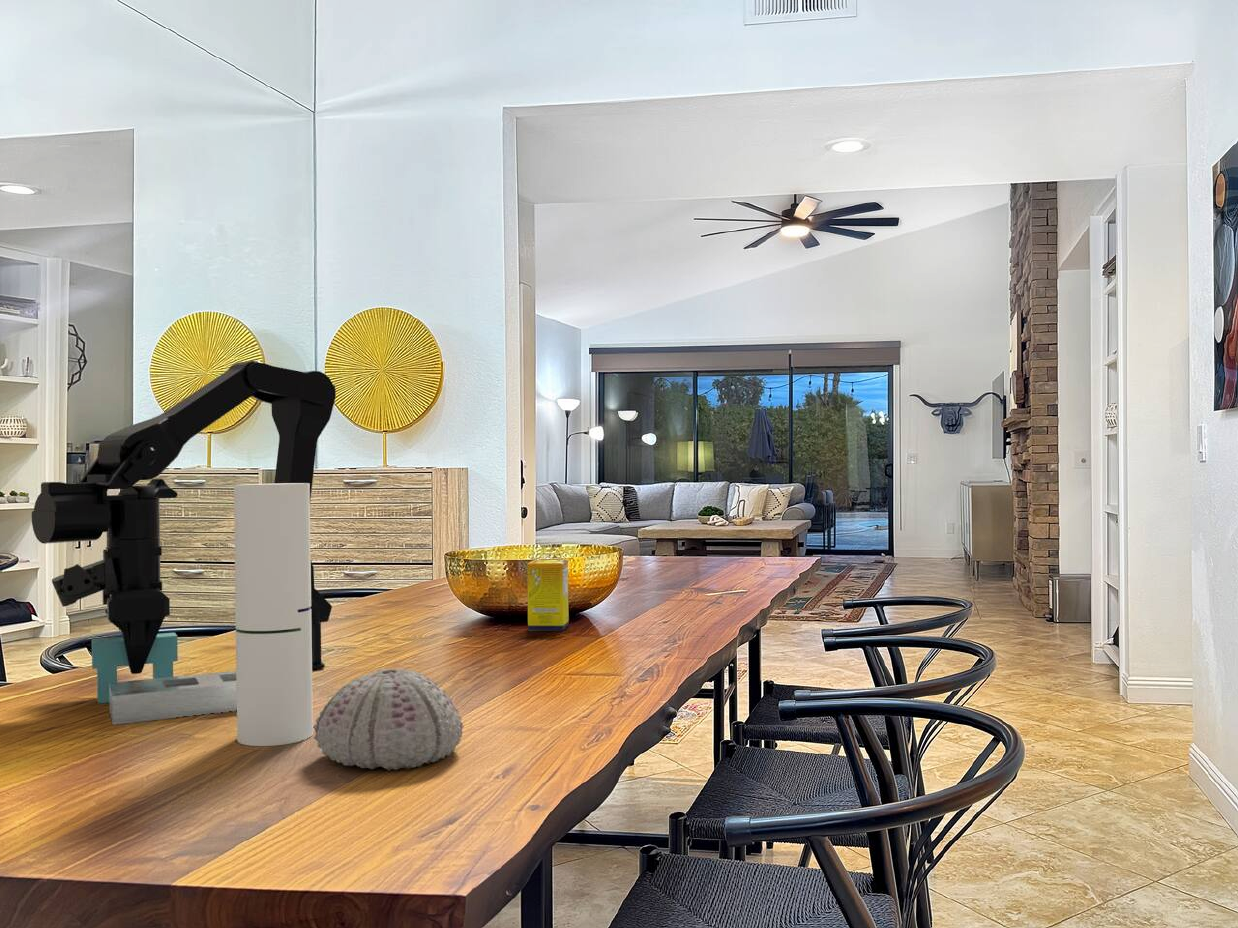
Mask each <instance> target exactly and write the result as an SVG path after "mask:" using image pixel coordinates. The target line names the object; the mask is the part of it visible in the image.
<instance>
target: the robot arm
mask: <svg viewBox="0 0 1238 928" xmlns="http://www.w3.org/2000/svg"><path fill="white" fill-rule="evenodd" d="M336 393H337V391H336V385H335V384H334V383H333V382H332V380H331V379H330V377H329V376H328V375H326V373H324V372H322V371H319V370H311V371H308V370H307V371H300V370H295V369H289V368H284V367H279V366H275V365H270V364H268V363H265V362H264V363H263V362H261V361H259V360H249V361H241V362H235V363H233V364H232V365H231V366H229V368H228V369H227V370H226V371H225V372H223V373H221V374H220V375H218V376H217V377H215V378H214V379H213V380H211V381H209V382H208V383H206V384H205V385H204V386H202V387H200V388H199V389H197V390H195V391H194V392H193V393H191V394H189V395H188V396H187V397H186V398H184V399H182V400H181V401H180V402H178V403H176V404H175V405H173V406H171V407H170V408H169V409H167V410H166V411H164V412H162V413H161V414H159V415H157V416H154V417H152V418H150V419H147V420H143V421H141V422H137V423H135V424H134V423H133V424H131V425H129V426H126V427H124V428H121V429H120V430H117V431H115V432H113V433H110V434H108V435H107V436H105V437H104V438H103V439H102V440H101V441H100V442H99V444H98V447H97V448H98V450H97V456H96V459H95V460H94V461H93V463H92V464H91V465H90V467H89V468H88V470H87V471H86V472H85V473H84V475H83V476H82V478H81V479H80V480H79V481H78V483H77V482H75V483H73V482H72V483H71V482H69V483H66V482H63V481H43V482H41V483H40V493H39V495H38V496H37V498H36V500H35V502H34V506H33V510H32V512H31V525H32V526H31V527H32V531H33V533H34V536H35V538H36V539H37V540H38V542H39V543H40V544H45V545H46V544H57V543H76V542H77V543H78V542H90V541H97V540H99V539H100V538H101V537H102V535H103V533H106V546H105V549H103V550H102V553H103V554H102V557H103V558H102V559H101V560H98V561H95V562H93V563H91V564H87V565H84V566H81V565H80V564H78V563H76V564H75V565H73V566H70V567H68V568H67V567H66V568H64V569H63V573H62V574H61V575H58V576H56V577H54V578H52V579H51V583H52V585H53V587H54V590H55V592H56V595H57V597H58V599H59V601H60V604H61V607H68V606H70V605H74V604H75V603H77V601H79V600H82V599H84V598H86V597H89V596H91V595H95V594H96V593H99V592H102V593H101V594H102V595H101V596H102V597H101V598H102V604H103V606H106V609H104V611H105V614H106V615H107V616H106V617H107V618H106V619H107V620H108V621H109V623H111V624H112V625H114V626H115V627H116V628H118V629H119V630H120V633H121V637H123V639H124V643H125V648H126V653H127V657H128V662H129V666H128V668H129V670H130V673H131V674H132V675H138V674H139V675H140V674H141V673H142V672H143V670H144V667H145V665H146V664H145V663H146V660H147V658H148V656H149V653H150V651H151V648H152V646H153V644H154V641H155V639H156V636H157V634H159V632H160V629H161V627H162V625H163V623H164V620H165V618H166V617H168V616H170V614H171V611H170V610H171V608H170V607H171V605H170V603H171V602H170V598H169V597H168V595H167V594H165V593H164V592H163V582H162V580H161V556H163V551H162V550H163V548H162V546H161V535H160V534H161V532H160V530H161V529H160V527H161V526H160V521H161V520H160V499H176V498H177V497H178V496H179V495H178V492H177V491H176V490H175V489H173V488H172V487H170V486H169V485H168V484H167V483H166V482H165V479H163V478H157V477H158V476H160V475H161V474H162V473H163V472H164V471H165V470H166V469H167V468H168V467H169V466H170V465H171V464H172V463H174V462H175V460H176V459H177V458H178V457H179V455H180V453H181V451H182V450H183V448H184V446H185V445H186V444H187V443H188V442H189V441H190V440H191V439H192V438H194V437H195V436H196V435H198V434H199V433H201V432H203V431H204V430H205V429H206V428H208V427H209V426H211V425H212V424H214V423H215V422H216V421H218V420H219V419H221V418H222V417H223V416H225V415H227V414H228V413H230V412H231V411H232V410H233V409H235V408H237V407H238V406H240V405H241V404H242V403H244V402H245V401H247V400H249V399H250V398H253V399H254V400H256V401H259V402H263V403H266V404H269V405H271V417H272V419H273V422H274V426H275V427H276V430H277V433H278V436H279V437H278V438H279V439H278V448H277V454H276V455H277V456H276V464H275V465H276V466H275V472H274V473H275V474H274V483H273V484H281V483H310V502H311V499H312V490H313V483H314V474H315V473H314V471H315V463H316V454H317V448H318V447H317V445H318V439H319V437H320V436H321V434H322V433H323V432H324V430H325V428H326V426H327V425H328V423H329V422H330V420H331V416H332V412H333V409H334V405H335V403H336V396H337V394H336ZM149 480H150V482H149V483H147V484H145V485H144V484H143V485H141V484H139V485H136V483H138V482H139V481H149ZM109 490H120V491H119V492H118V493H117V494H111V495H110V494H109V495H108V491H109ZM310 608H311V627H312V670H317V669H323V668H326V666H325V665H326V664H325V663H324V662H322V623H327V622H328V621H329V619H330V616H331V612H332V608H333V607H332V604H331V603H330V602H329V601H328V600H327V599H326V598H325V597H324V596H323V595H322V594H321V593H320V592H319V591H318V590H317V589H316V588H315V568H314V565H313V562H312V561H311V607H310Z"/></svg>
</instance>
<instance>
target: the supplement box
mask: <svg viewBox="0 0 1238 928" xmlns="http://www.w3.org/2000/svg"><path fill="white" fill-rule="evenodd" d="M568 562H569V561H568V560H567V559H534V560H531V561H530V562H528V563H526V573H527V574H526V579H527V581H526V585H527V586H526V587H527V627H528V628H527V630H528V631H529V632H530V631H531V632H533V631H534V632H536V631H544V632H546V631H550V632H553V631H564V630H565V629H566V628H567V626H569V625H570V624H569V619H570V617H569V616H570V615H569V575H568V574H569V573H568V572H569V570H568V568H569V566H568V565H569V564H568Z"/></svg>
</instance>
